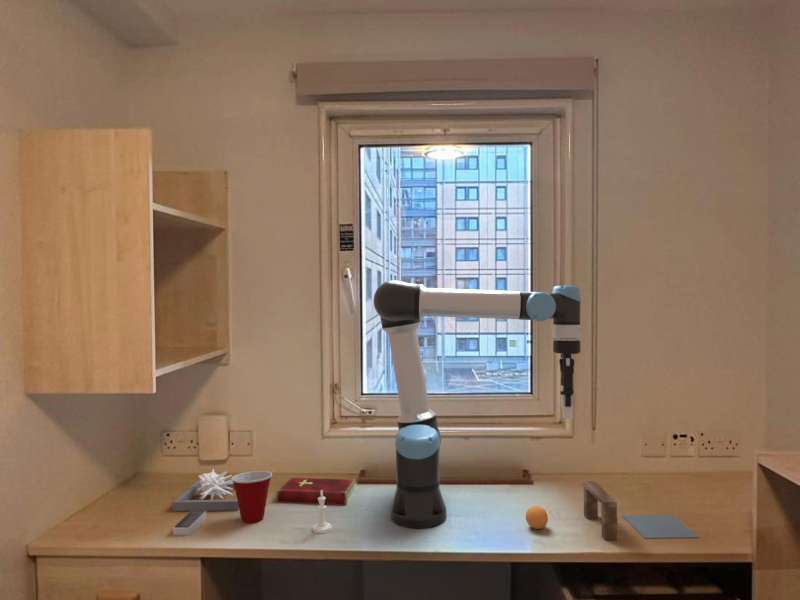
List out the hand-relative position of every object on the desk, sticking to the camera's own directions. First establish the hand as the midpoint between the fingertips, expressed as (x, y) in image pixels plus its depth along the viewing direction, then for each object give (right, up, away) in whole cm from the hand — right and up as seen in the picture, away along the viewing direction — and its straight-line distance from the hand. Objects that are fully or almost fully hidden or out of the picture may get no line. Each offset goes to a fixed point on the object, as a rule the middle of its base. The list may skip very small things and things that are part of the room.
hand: (566, 413), depth 150 cm
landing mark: (+18, -25, -18) cm, 35 cm away
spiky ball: (-103, -27, +6) cm, 107 cm away
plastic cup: (-88, -27, -9) cm, 93 cm away
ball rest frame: (-103, -27, +6) cm, 107 cm away
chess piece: (-68, -27, -16) cm, 75 cm away
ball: (-13, -23, -17) cm, 32 cm away
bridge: (+3, -25, -17) cm, 31 cm away
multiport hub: (-103, -28, -13) cm, 108 cm away
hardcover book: (-73, -27, +7) cm, 78 cm away
